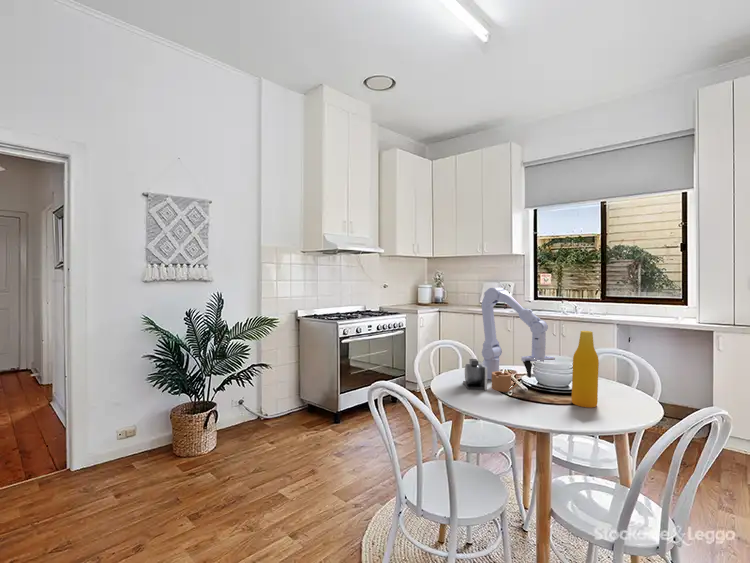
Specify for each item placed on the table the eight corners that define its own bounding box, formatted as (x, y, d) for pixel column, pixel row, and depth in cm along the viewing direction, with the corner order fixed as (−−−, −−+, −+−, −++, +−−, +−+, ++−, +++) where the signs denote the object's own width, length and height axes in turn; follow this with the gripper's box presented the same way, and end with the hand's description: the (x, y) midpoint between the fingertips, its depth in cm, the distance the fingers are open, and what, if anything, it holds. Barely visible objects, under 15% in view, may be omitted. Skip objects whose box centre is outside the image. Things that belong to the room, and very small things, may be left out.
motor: (462, 382, 194) (463, 356, 193) (479, 382, 194) (480, 357, 194) (468, 390, 182) (469, 363, 181) (486, 390, 182) (487, 363, 182)
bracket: (507, 393, 179) (507, 377, 179) (488, 389, 184) (489, 374, 184) (519, 383, 194) (520, 368, 194) (502, 380, 199) (502, 366, 198)
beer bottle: (566, 401, 168) (568, 330, 167) (584, 399, 171) (586, 329, 170) (583, 409, 160) (586, 333, 158) (602, 406, 162) (605, 332, 161)
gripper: (525, 349, 184) (525, 379, 184) (558, 349, 184) (557, 379, 184) (520, 345, 191) (519, 375, 191) (551, 346, 191) (550, 375, 191)
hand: (537, 377), depth 188 cm, fingers open, 7 cm apart
